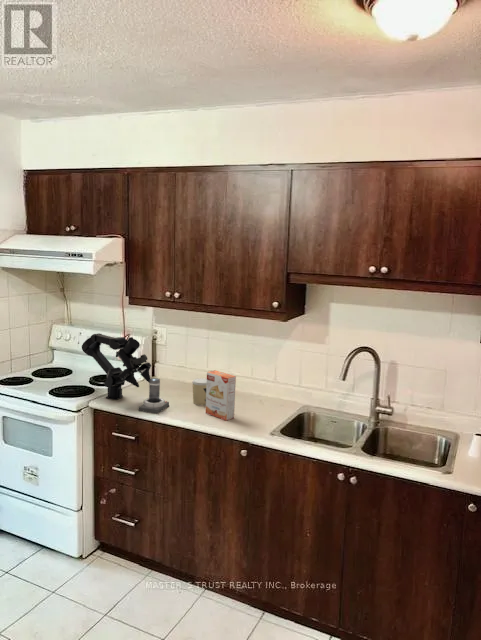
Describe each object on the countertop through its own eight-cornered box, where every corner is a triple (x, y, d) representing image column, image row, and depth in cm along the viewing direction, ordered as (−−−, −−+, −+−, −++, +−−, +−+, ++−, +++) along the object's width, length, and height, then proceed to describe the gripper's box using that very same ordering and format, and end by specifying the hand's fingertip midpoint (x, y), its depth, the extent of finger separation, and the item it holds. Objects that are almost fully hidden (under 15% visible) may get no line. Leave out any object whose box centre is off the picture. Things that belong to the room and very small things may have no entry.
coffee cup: (207, 407, 260) (208, 383, 258) (189, 405, 262) (190, 382, 260) (211, 401, 269) (212, 379, 267) (194, 399, 271) (195, 377, 269)
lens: (146, 404, 254) (147, 379, 252) (155, 402, 258) (155, 377, 256) (153, 406, 250) (153, 381, 249) (161, 404, 254) (162, 379, 252)
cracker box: (204, 413, 250) (206, 371, 247) (213, 410, 255) (215, 369, 251) (225, 421, 241) (227, 377, 238) (234, 418, 246) (236, 375, 242)
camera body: (138, 411, 250) (138, 403, 249) (150, 403, 262) (150, 395, 261) (157, 413, 247) (157, 405, 246) (168, 405, 259) (169, 398, 258)
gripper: (124, 353, 247) (142, 380, 244) (149, 346, 263) (165, 371, 260) (111, 366, 252) (128, 392, 249) (136, 359, 268) (152, 383, 265)
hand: (144, 384), depth 256 cm, fingers open, 9 cm apart
